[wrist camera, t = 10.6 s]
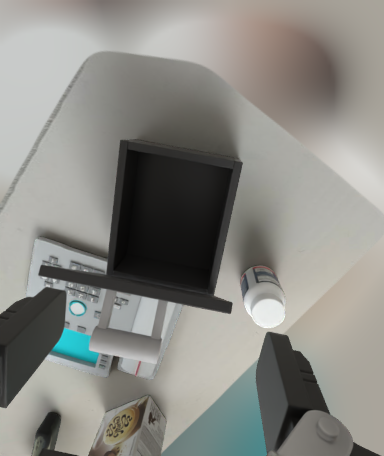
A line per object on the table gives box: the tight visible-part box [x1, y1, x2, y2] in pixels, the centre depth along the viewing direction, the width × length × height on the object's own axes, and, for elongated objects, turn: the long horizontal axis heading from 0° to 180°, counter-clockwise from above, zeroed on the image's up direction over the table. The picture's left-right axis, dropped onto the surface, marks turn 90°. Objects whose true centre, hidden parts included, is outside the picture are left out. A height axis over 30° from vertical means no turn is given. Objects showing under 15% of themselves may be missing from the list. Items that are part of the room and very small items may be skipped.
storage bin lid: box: [38, 265, 232, 364], centre depth 31 cm, size 18×14×5 cm
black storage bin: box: [106, 139, 243, 296], centre depth 41 cm, size 17×14×7 cm
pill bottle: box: [241, 266, 286, 328], centre depth 42 cm, size 5×5×9 cm
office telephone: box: [26, 236, 183, 380], centre depth 49 cm, size 23×3×20 cm
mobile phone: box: [32, 412, 61, 456], centre depth 56 cm, size 5×3×15 cm
